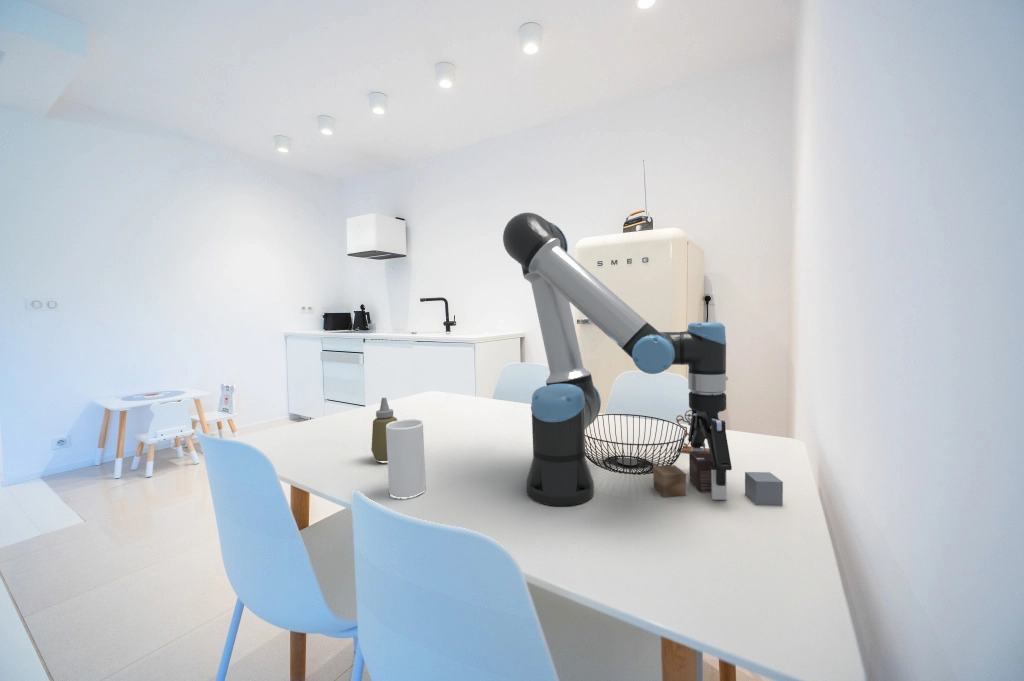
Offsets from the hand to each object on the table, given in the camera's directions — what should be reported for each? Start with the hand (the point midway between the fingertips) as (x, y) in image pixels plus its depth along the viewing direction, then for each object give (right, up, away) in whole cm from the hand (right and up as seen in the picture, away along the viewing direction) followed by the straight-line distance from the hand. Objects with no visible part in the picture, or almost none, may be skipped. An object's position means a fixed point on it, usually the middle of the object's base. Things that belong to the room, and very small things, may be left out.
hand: (707, 486), depth 91 cm
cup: (-68, -2, +3) cm, 68 cm away
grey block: (+8, 0, -7) cm, 11 cm away
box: (0, 0, 0) cm, 0 cm away
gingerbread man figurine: (+7, +1, +23) cm, 24 cm away
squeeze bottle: (-80, -2, +24) cm, 83 cm away
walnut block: (-9, -1, -2) cm, 10 cm away
